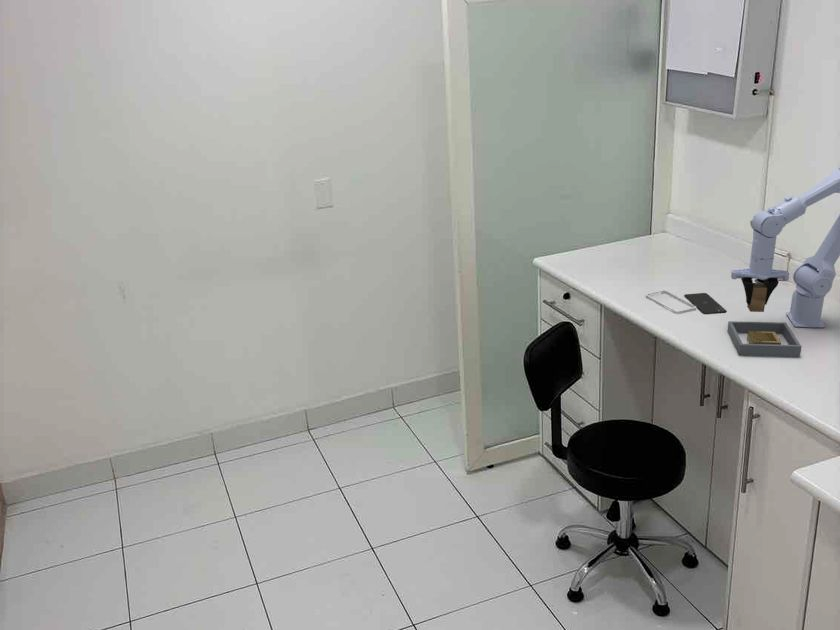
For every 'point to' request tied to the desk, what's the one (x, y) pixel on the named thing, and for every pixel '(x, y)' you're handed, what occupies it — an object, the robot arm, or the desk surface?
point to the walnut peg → (758, 298)
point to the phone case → (675, 298)
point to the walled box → (764, 349)
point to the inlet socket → (763, 338)
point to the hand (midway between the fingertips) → (756, 303)
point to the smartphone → (705, 303)
